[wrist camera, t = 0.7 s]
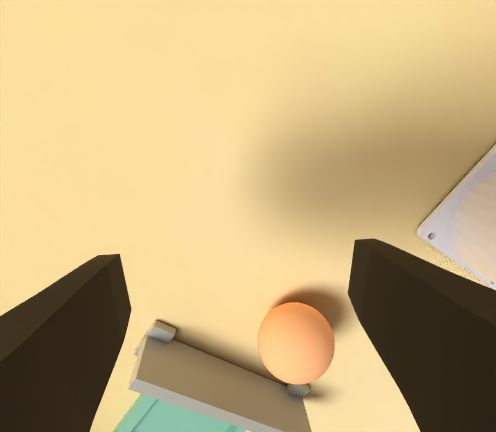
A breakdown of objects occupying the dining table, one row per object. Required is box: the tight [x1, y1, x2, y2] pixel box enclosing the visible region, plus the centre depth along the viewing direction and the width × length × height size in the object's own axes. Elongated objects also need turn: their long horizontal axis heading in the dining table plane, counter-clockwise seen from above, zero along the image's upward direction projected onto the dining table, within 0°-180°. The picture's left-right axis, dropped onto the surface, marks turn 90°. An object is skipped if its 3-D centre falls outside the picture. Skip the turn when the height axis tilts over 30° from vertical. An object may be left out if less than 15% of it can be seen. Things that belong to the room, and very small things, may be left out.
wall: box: [128, 320, 311, 432], centre depth 23 cm, size 14×3×4 cm, turn 56°
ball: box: [258, 302, 334, 384], centre depth 21 cm, size 5×5×5 cm
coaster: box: [114, 394, 246, 432], centre depth 26 cm, size 9×9×1 cm
